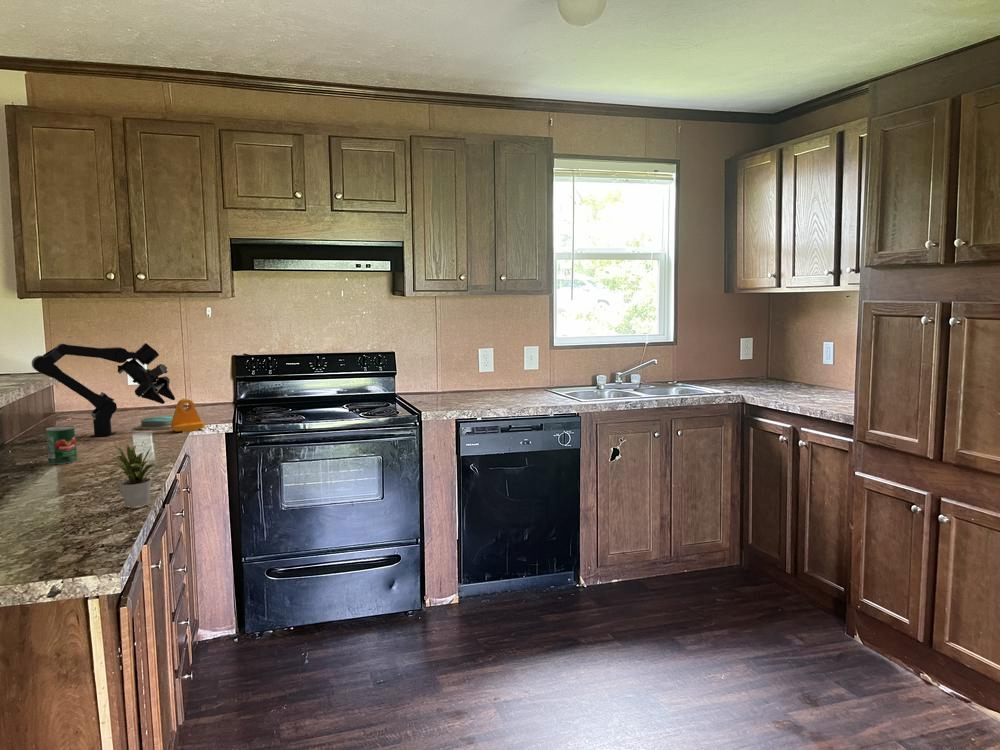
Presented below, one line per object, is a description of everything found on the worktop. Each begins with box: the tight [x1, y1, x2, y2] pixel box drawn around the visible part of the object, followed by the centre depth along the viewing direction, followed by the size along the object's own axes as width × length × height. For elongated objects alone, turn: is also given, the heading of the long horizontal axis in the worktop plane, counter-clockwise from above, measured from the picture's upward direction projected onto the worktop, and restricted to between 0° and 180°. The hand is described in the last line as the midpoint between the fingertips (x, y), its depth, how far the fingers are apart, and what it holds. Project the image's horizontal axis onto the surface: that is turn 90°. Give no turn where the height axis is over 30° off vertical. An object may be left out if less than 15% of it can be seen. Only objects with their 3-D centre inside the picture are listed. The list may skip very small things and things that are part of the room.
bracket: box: [170, 398, 205, 433], centre depth 287 cm, size 11×7×12 cm, turn 126°
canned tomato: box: [45, 425, 78, 466], centre depth 236 cm, size 8×8×11 cm
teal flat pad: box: [134, 415, 174, 430], centre depth 298 cm, size 14×14×3 cm
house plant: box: [106, 443, 163, 507], centre depth 184 cm, size 14×14×16 cm
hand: (169, 401), depth 287 cm, fingers open, 9 cm apart
